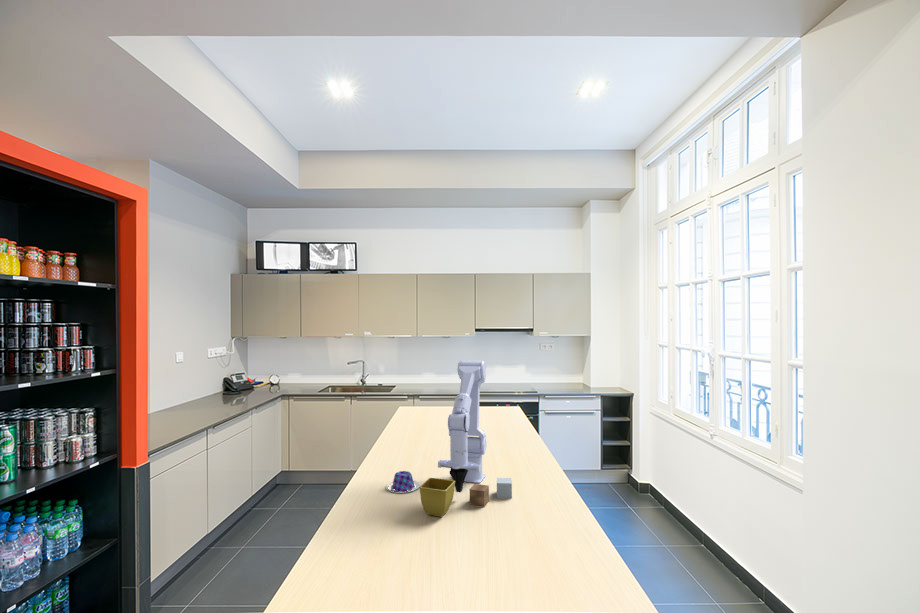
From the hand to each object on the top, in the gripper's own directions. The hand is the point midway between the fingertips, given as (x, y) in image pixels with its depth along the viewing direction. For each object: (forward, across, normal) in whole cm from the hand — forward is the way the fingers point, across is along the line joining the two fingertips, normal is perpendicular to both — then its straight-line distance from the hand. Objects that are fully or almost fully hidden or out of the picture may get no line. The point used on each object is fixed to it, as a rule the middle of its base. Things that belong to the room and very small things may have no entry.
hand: (459, 491), depth 147 cm
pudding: (+4, -23, +4) cm, 24 cm away
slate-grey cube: (+3, +13, +9) cm, 16 cm away
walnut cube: (+3, +7, 0) cm, 8 cm away
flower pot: (+3, -3, -11) cm, 12 cm away
